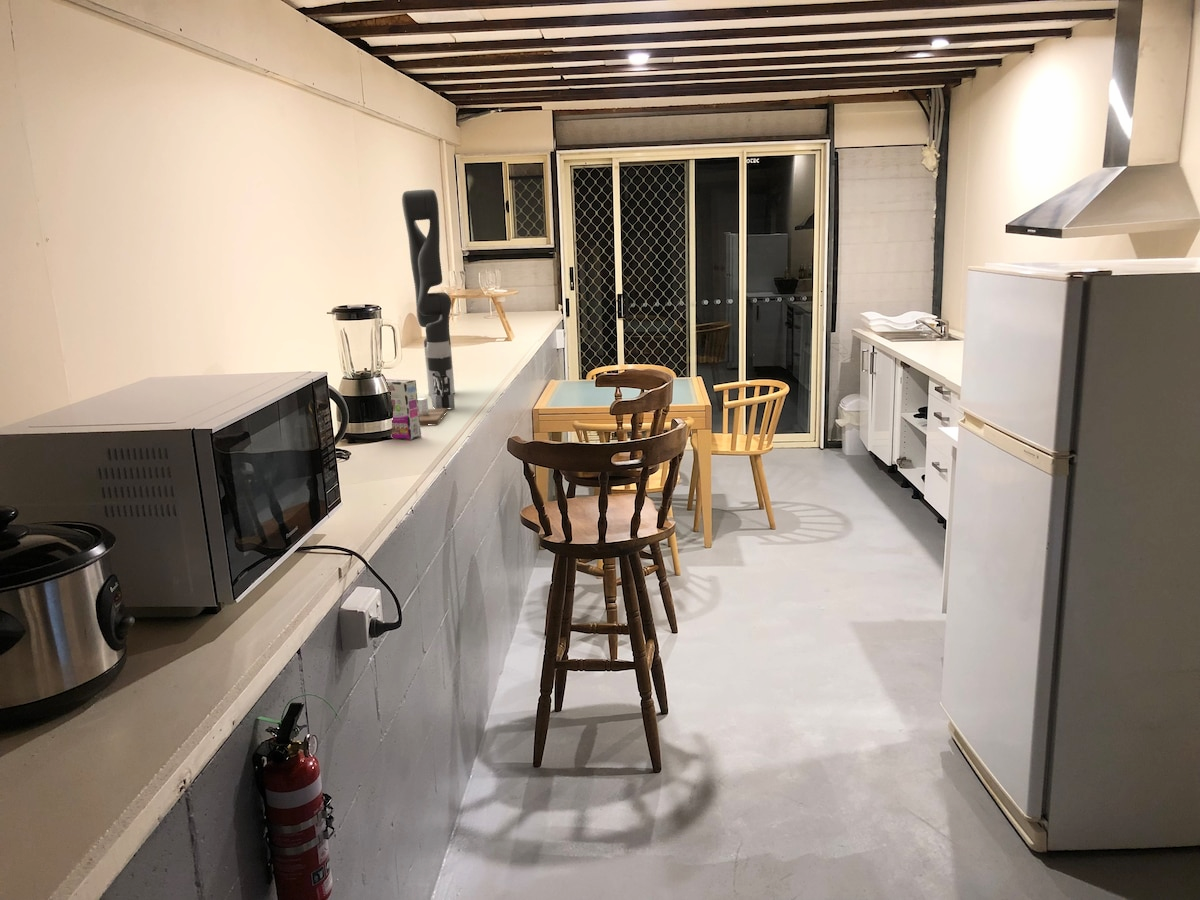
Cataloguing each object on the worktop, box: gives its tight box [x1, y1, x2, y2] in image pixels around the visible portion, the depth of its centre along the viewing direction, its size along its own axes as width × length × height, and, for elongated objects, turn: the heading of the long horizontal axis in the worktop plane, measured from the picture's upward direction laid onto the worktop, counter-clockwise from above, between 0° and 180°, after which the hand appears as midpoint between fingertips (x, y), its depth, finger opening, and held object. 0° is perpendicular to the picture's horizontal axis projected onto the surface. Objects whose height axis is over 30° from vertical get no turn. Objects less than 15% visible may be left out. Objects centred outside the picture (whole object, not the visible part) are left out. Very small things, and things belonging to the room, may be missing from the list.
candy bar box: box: [386, 378, 422, 441], centre depth 254 cm, size 11×5×16 cm, turn 62°
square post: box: [417, 397, 429, 416], centre depth 278 cm, size 3×3×5 cm
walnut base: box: [419, 408, 448, 426], centre depth 279 cm, size 18×12×2 cm, turn 0°
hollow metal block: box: [431, 392, 456, 409], centre depth 295 cm, size 6×6×5 cm
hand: (443, 406), depth 295 cm, fingers closed on hollow metal block, 6 cm apart
